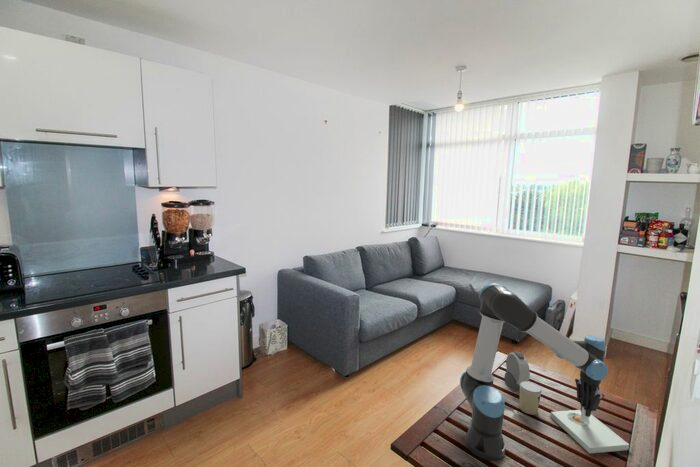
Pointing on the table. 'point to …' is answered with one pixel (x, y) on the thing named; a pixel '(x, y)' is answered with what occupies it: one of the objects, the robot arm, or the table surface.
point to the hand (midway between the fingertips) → (584, 421)
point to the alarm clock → (516, 370)
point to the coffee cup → (529, 397)
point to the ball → (577, 419)
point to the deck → (589, 432)
